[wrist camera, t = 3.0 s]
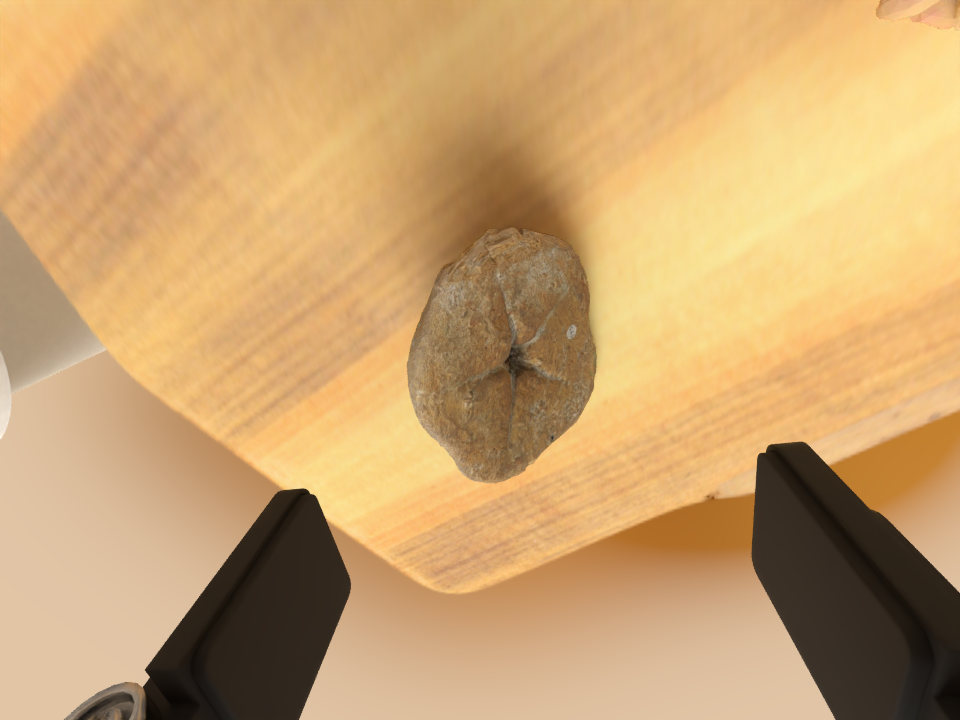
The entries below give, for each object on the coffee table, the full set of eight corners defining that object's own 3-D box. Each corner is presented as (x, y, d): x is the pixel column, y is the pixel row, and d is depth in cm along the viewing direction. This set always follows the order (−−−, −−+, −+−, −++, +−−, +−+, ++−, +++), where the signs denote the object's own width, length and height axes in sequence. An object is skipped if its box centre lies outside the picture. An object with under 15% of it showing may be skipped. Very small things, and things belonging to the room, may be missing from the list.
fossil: (487, 529, 18) (371, 319, 12) (427, 478, 21) (313, 294, 15) (622, 389, 21) (579, 178, 16) (553, 364, 25) (497, 181, 19)
